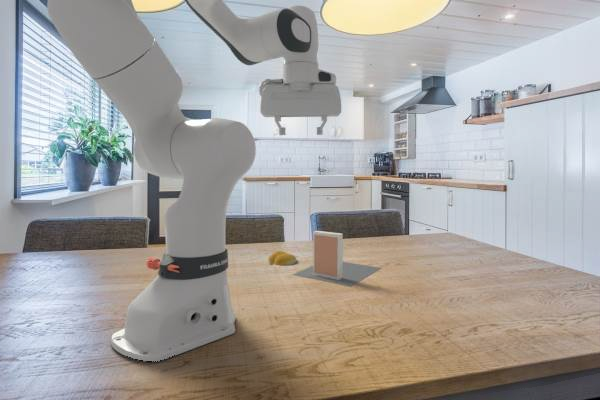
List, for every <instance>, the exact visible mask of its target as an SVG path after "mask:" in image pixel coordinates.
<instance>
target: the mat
mask: <svg viewBox="0 0 600 400" xmlns="http://www.w3.org/2000/svg"><path fill="white" fill-rule="evenodd" d="M379 270H382V267H378V266H372V265H365V264H360V263H354V262H345V261H343V266H342V278H341V279H339V280H337V279H332V278H327V277H322V276H317V275H313V265H312V266H309V267H307V268H305V269H302V270H300V271H297V272H295V273H293V274H291V275H292V276H297V277H301V278H307V279H312V280H316V281H321V282H326V283H327V282H328V283H330V284H331V283H332V284H335V285H342V286H345V287H353V286H354V285H356V284H357V283H359V282H361V281H363V280H364V279H366V278H368V277H369V276H372V275H373V274H374V273H377V272H379Z"/></svg>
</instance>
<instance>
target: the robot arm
mask: <svg viewBox="0 0 600 400" xmlns="http://www.w3.org/2000/svg"><path fill="white" fill-rule="evenodd" d="M184 1H185V3H186V5H187V6H188V8H189V9H190V10H191V11H192V12H193V13H194V14H195V15H196V17H198V18H199V20H201V21H202V22H203V23H204V24H205V25H206V26H207V28H209V29H211V31H212V32H213V33H215V35H216V36H218V37H219V38H220V40H222V42H224V43H225V45H226V46H227V47H228V48H229V49H230V51H231V53H232V54H233V55H234V57H235V58H236V59H237V60H238V61H240V63H242V64H243V65H245V66H253V65H254V66H255V65H257V64H259V63H263V62H266V61H271V60H275V59H279V58H284V59H283V65H282V78H275V79H270V78H267V79H265V80H264V81H262V82H260V84H259V87H258V89H259V92H258V93H259V95H260V97H261V98H260V106H259V107H260V109H259V110H260V114H261V115H262V116H263V117H264V118H274V122H275V123H276V126H277V127H278V131H279V133H278V135H279V136H286V127H285V126H284V127H282V125H281V123H280V122H281V121H282V118H309V117H311V118H315V117H318V118H319V117H320V118H321V122H322V123H321V124H320V126H316V135H317V136H319V135H320V136H321V135H322V136H323V131H324V130H323V128H324V126H325V125H326V124H327V121H328V118H329V117H332V118H333V117H339V116H340V115H341V114H342V99H341V92H340V90H339V87H338V86H337V85H336V84H337V77H336V76H337V75H336V74H335V73H332V72H329V71H326V70H323V69H320V68H319V61H318V52H319V32H318V22H317V18H316V14H315V12H314V11H313V10H312V9H311V8H309V7H307V6H303V5H293V6H290V7H288V8H280V9H277V10H273V11H269V12H267V13H264V14H261V15H258V16H255V17H252V18H251V17H250V18H241V17H238V16H236V14H235V13H234V12H233V10H231V8H229V6H228V5H227V4H226V3H225V2H224V1H223V0H184ZM46 4H47V5H46V8H47V14H48V16H49V19H50V20H51V22H52V24H53V26H54V27H55V29H56V31H57V32H58V34H59V36H60V37H61V38H62V40H63V42H64V43H65V45H66V46H67V47H68V49H69V51H70V52H71V54H72V55H73V56H74V57H75V59H76V60H77V62H79V65H81V66H82V69H84V70H85V71H86V72H87V74H88V75H89V76H90V77H91V79H92V80H93V81H94V82H95V83H96V85H98V87H99V88H100V89H101V90H102V92H103V93H104V94H105V96H106V97H107V98H108V99H109V100H110V101H111V103H112V104H114V106H115V107H116V109H117V110H118V111H119V112H120V113H121V115H122V116H123V118H124V119H125V121H126V122H127V125H129V127H130V130H131V131H132V134H133V136H134V138H135V142H134V144H133V154H134V157H135V158H134V159H135V160H136V162H137V163H136V164H137V165H138V166H139V167H140V169H142V170H143V172H145V173H146V174H147V173H148V174H151V175H152V176H156V177H159V178H163V179H166V180H167V179H168V180H183V183H182V187H181V192H180V193H179V196H178V197H177V199H176V201H175V202H174V203H172V204H171V205H170V206H169V207H168V208H167V209H166V212H165V214H164V226H165V227H164V230H165V232H164V233H165V252H164V254H163V257H162V259H160V258H155V257H149V258H148V259H147V260H146V262H145V265H146V267H147V269H150V270H154V271H156V270H157V274H158V275H157V276H156V277H155V278H154V279H153V280H152V281H151V282H150V283H149V284H148V285H147V286H146V287H145V288H144V289H143V291H141V292H140V293H139V294H138V296H136V297H135V298H134V299H133V300H132V301H131V302H130V303H129V305H128V307H127V311H126V315H125V322H124V328H122V329H120V330H118V331H116V332H114V333H113V334H112V335H111V338H110V344H111V347H112V348H113V349H114V350H115V351H116V352H117V353H119V354H121V355H123V356H124V357H127V356H128V357H127V358H129V357H131V358H130V359H132V358H133V359H132V360H135V359H138V360H137V361H139V360H143V361H142V362H146V361H152V363H158V362H161V361H160V360H162V361H164V359H165V360H167V359H170V358H172V356H173V357H175V356H177V355H180V354H182V353H186V352H188V351H190V350H194V349H197V348H199V347H201V346H204V345H208V344H209V343H211V342H215V341H217V340H220V339H223V338H225V337H228V336H230V335H233V334H235V332H236V328H235V321H236V319H237V318H236V315H235V311H234V309H233V305H232V301H231V300H232V299H231V295H230V294H231V293H230V289H229V283H228V272H227V269H228V268H229V252H228V248H226V221H227V220H226V219H227V218H226V217H227V210H228V209H227V208H228V204H229V200H230V198H231V196H232V192H233V190H234V188H235V186H236V184H238V182H239V181H240V180H241V178H242V177H244V175H245V174H247V173H248V172H249V171H250V169H251V168H252V166H253V164H254V161H255V159H256V153H257V152H256V151H257V149H256V147H257V146H256V140H255V138H254V135H253V133H252V132H251V130H250V129H249V127H248V126H247V125H245V124H244V123H243V122H241V121H236V120H233V119H226V118H219V117H213V118H205V119H204V118H203V119H193V120H192V119H189V118H187V117H186V116H185V115H184V114H183V112H182V110H181V108H180V106H179V102H180V100H181V97H182V93H183V81H182V78H181V77H180V75H179V74H178V71H177V70H176V69H175V67H174V66H173V64H172V63H171V61H170V59H169V58H168V57H167V55H166V54H165V52H164V51H163V49H162V48H161V46H160V45H159V43H158V42H157V40H156V39H155V37H154V36H153V35H152V33H151V32H150V31H151V30H149V28H147V26H146V24H145V23H144V22H143V20H142V19H141V18H140V16H139V15H138V13H137V11H136V9H135V7H134V4H133V1H132V0H47V3H46ZM174 355H175V356H174ZM169 357H170V358H169ZM153 361H154V362H153ZM155 361H156V362H155ZM157 361H158V362H157Z"/></svg>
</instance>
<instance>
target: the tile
mask: <svg viewBox="0 0 600 400" xmlns="http://www.w3.org/2000/svg"><path fill="white" fill-rule="evenodd" d="M343 235H344V234H343V233H340V232H332V231H323V230H315V231H312V266H313V275H317V276H322V277H327V278H332V279H337V280H339V279H341V278H342V266H343V262H344V261H343V256H344V255H343V250H344V249H343V245H344V244H343V241H344V240H343V238H344V237H343Z"/></svg>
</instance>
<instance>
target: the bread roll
mask: <svg viewBox="0 0 600 400" xmlns="http://www.w3.org/2000/svg"><path fill="white" fill-rule="evenodd" d="M267 260H268V263H269V265H271V266H273V265H276V266H290V265H293V264H296V263H297V257H296V256H295V254H292V253H291V254H290V253H288V252H286V251H282V250H278V251H275V252H273V253H271V254H270V256H269V257H268V259H267Z"/></svg>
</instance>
